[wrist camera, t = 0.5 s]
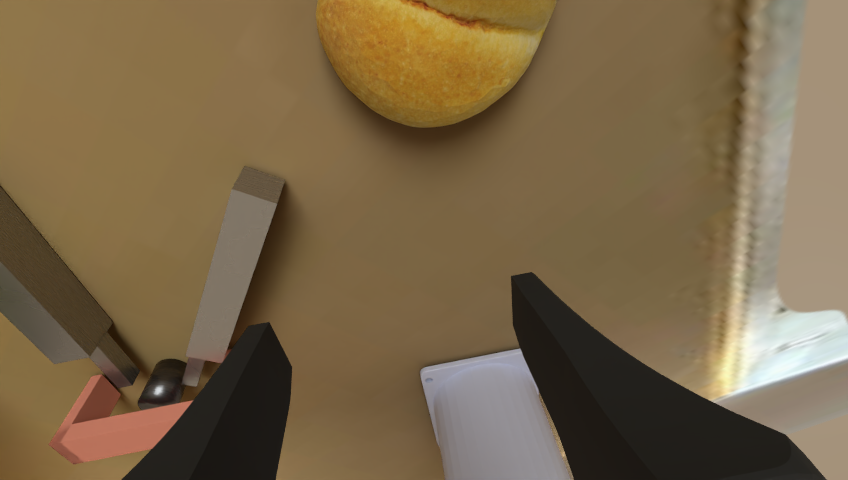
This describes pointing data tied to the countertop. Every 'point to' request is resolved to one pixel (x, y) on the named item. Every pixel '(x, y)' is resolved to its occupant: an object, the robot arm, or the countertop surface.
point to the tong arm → (232, 267)
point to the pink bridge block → (111, 425)
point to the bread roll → (431, 53)
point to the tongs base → (67, 311)
